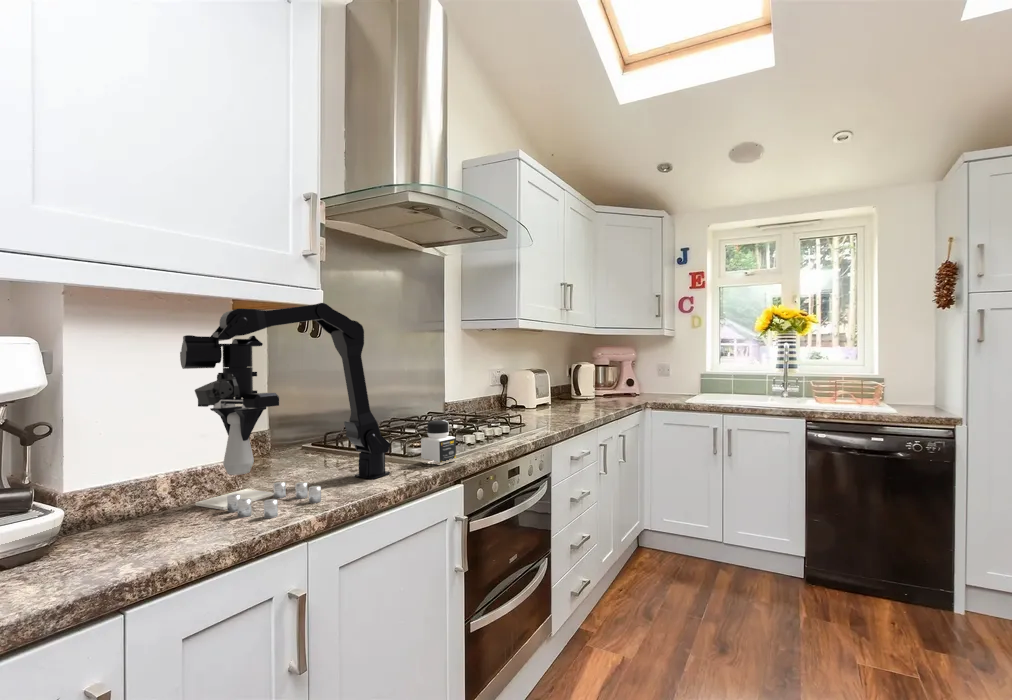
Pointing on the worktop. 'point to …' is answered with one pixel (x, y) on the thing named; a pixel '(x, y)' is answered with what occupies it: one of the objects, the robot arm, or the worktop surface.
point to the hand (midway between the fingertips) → (238, 440)
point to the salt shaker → (237, 449)
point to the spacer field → (272, 504)
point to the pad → (221, 500)
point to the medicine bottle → (438, 442)
